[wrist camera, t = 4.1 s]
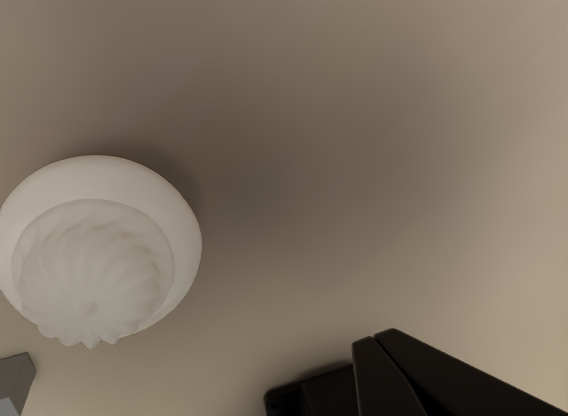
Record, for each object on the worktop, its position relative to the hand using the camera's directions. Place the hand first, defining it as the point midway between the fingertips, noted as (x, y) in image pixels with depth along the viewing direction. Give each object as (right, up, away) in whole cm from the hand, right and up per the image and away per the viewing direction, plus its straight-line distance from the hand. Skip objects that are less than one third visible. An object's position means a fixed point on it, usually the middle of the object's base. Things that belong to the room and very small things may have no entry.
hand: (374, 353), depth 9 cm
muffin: (-8, +3, +9) cm, 13 cm away
